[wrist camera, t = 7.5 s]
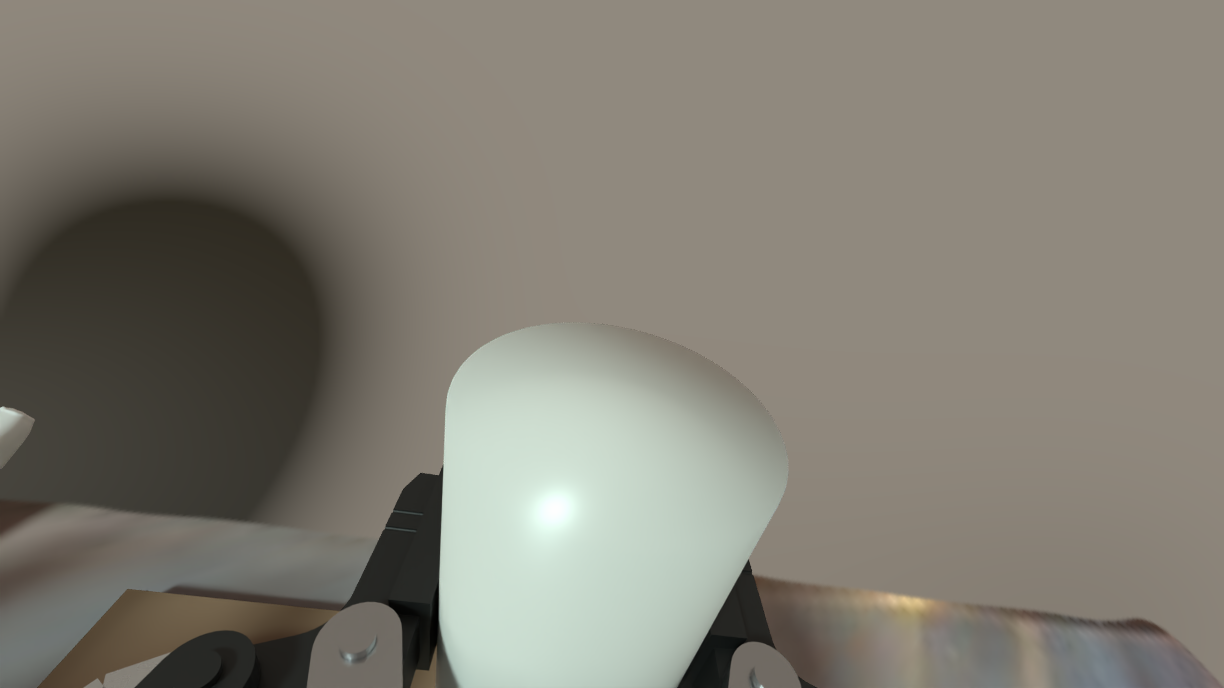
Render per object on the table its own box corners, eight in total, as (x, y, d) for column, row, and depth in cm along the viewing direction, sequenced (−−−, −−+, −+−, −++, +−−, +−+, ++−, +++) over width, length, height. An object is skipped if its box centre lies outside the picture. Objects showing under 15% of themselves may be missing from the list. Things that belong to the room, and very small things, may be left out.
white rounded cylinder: (616, 657, 15) (740, 347, 10) (620, 886, 11) (851, 581, 5) (461, 642, 15) (489, 303, 9) (402, 877, 11) (382, 522, 5)
